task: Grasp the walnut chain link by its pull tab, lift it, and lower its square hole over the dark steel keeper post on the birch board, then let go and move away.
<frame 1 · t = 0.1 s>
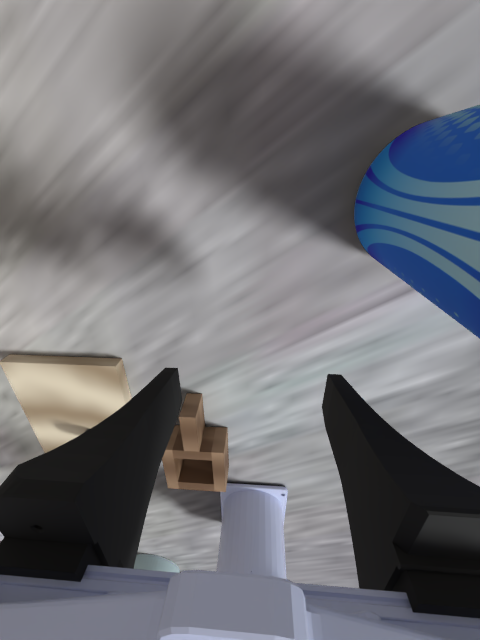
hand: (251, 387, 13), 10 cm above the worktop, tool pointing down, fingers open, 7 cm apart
walnut link: (200, 446, 31), on the worktop
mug: (166, 568, 46), on the worktop
beer can: (413, 199, 18), on the worktop
birch board: (84, 411, 29), on the worktop
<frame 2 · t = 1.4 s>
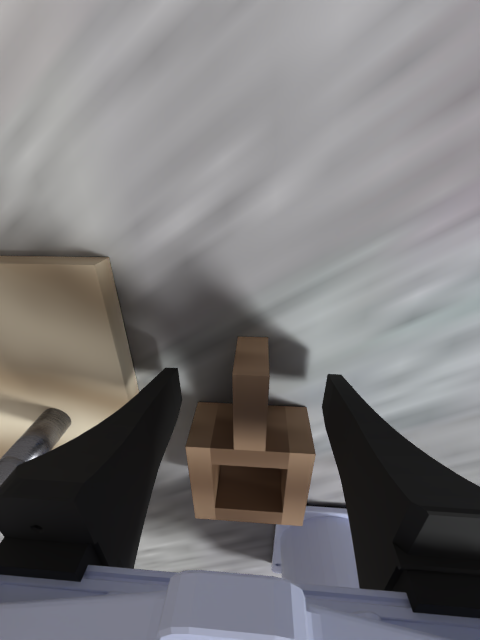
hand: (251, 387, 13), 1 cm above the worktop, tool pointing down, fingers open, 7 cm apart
keeper post: (70, 403, 17), resting on birch board
walnut link: (250, 441, 17), on the worktop
birch board: (43, 376, 16), on the worktop
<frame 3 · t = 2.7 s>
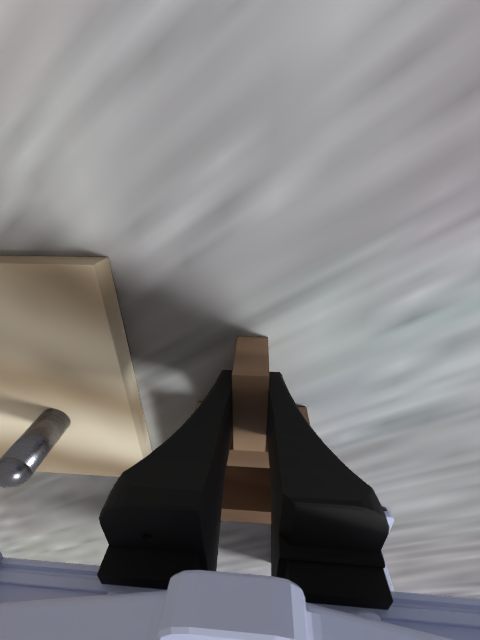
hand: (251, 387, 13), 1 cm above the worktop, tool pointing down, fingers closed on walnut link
keeper post: (69, 403, 17), resting on birch board
walnut link: (250, 441, 17), on the worktop, touching gripper
birch board: (42, 376, 16), on the worktop
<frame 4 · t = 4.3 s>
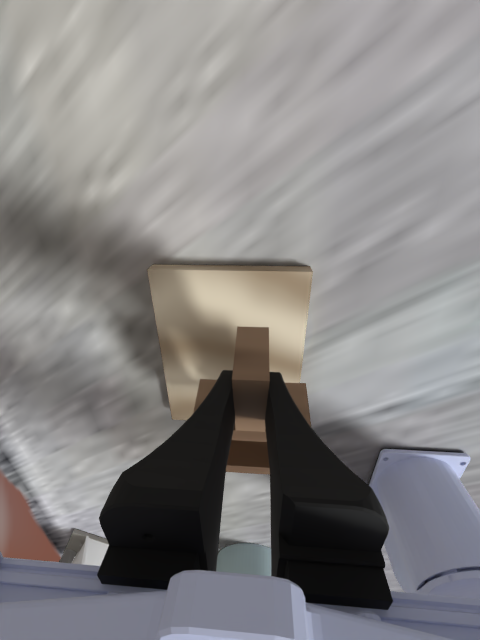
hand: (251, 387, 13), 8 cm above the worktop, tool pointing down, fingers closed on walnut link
skyscraper: (99, 544, 40), on the worktop
walnut link: (251, 407, 18), point 5 cm above the worktop, tilted 16°, touching gripper
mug: (266, 561, 39), on the worktop
birch board: (232, 349, 23), on the worktop
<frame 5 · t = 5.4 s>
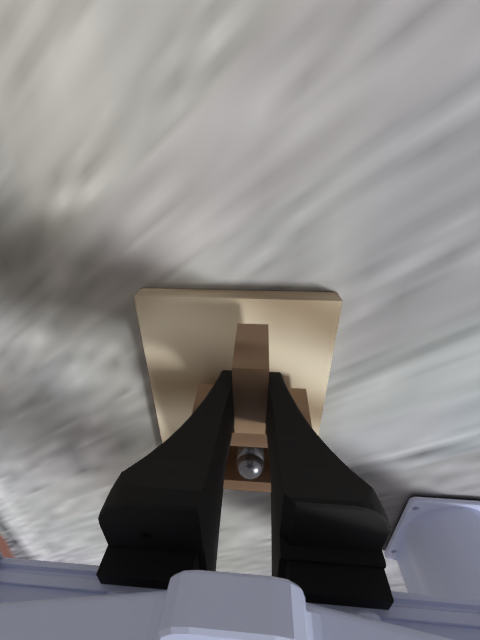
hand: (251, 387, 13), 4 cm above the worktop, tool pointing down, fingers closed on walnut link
keeper post: (252, 409, 20), resting on birch board
walnut link: (251, 418, 18), point 2 cm above the worktop, tilted 8°, touching gripper
birch board: (238, 386, 19), on the worktop
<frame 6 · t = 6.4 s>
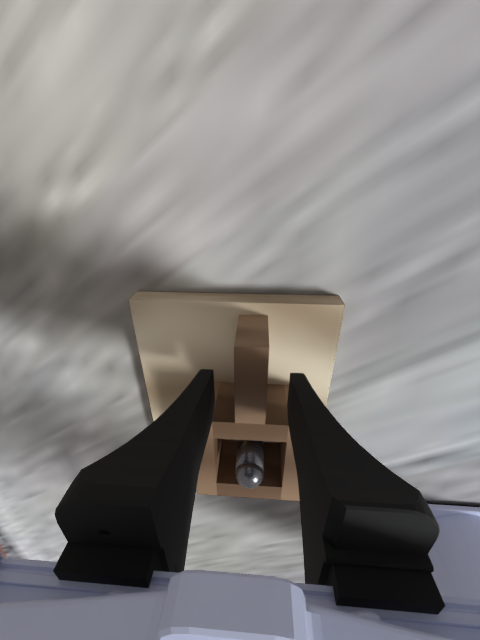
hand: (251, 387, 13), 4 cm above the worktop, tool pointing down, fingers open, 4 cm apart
keeper post: (251, 414, 19), resting on birch board
walnut link: (251, 421, 18), point 1 cm above the worktop, touching birch board
birch board: (237, 392, 18), on the worktop
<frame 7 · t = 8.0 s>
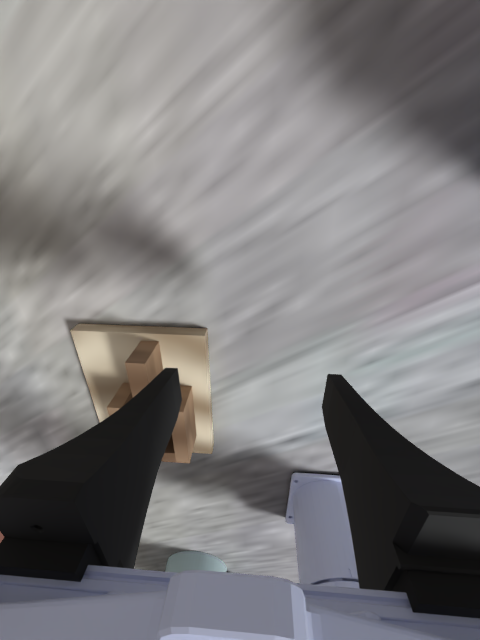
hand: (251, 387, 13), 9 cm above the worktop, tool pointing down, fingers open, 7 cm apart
walnut link: (161, 410, 26), point 1 cm above the worktop, touching birch board
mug: (211, 567, 43), on the worktop
birch board: (153, 390, 27), on the worktop
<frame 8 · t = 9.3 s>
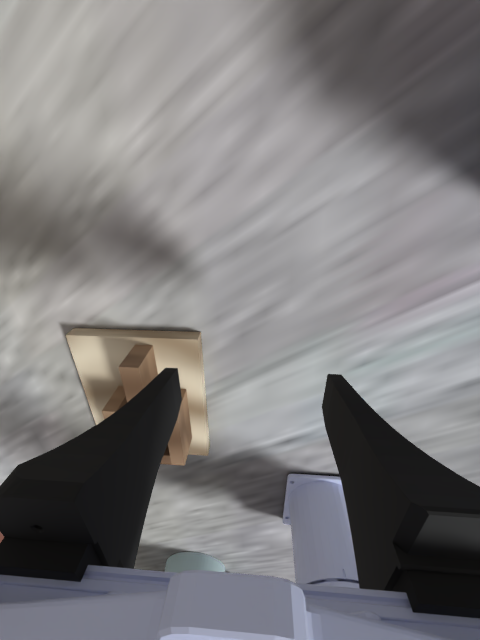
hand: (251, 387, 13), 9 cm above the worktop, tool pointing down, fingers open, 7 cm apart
walnut link: (157, 412, 26), point 1 cm above the worktop, touching birch board
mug: (210, 568, 43), on the worktop
birch board: (149, 393, 27), on the worktop
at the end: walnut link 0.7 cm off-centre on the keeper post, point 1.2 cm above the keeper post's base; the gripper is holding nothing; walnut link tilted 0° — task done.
